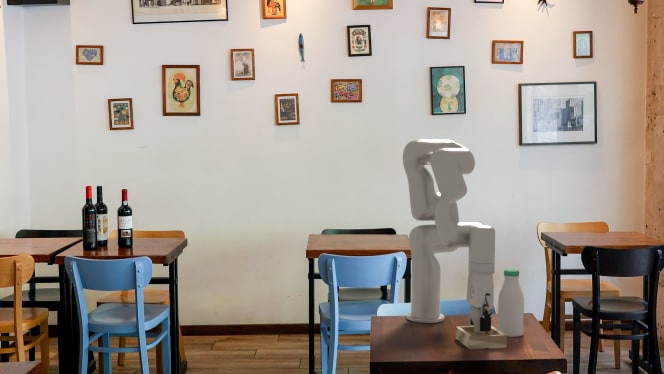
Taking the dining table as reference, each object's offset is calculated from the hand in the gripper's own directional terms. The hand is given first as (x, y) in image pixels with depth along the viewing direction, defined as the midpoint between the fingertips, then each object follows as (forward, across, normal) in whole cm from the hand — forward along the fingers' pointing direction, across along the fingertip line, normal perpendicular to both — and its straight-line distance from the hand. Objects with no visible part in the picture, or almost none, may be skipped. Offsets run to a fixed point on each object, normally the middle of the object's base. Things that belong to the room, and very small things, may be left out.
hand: (480, 327), depth 212 cm
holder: (+5, 0, 0) cm, 5 cm away
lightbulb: (+4, -1, 0) cm, 4 cm away
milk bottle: (+5, -8, +13) cm, 16 cm away
